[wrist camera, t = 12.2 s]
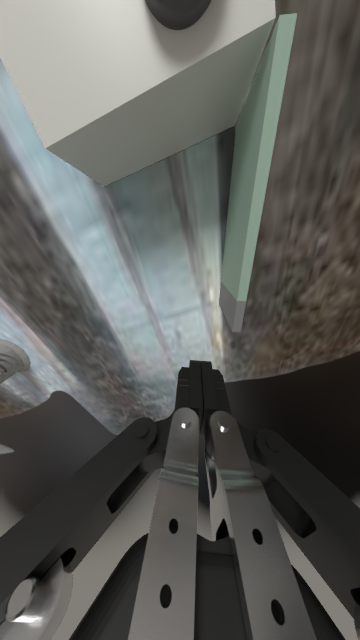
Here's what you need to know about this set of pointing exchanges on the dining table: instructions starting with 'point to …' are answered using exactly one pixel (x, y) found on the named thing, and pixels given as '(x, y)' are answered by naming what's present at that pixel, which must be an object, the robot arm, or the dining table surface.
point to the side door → (253, 170)
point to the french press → (12, 359)
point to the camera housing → (131, 74)
